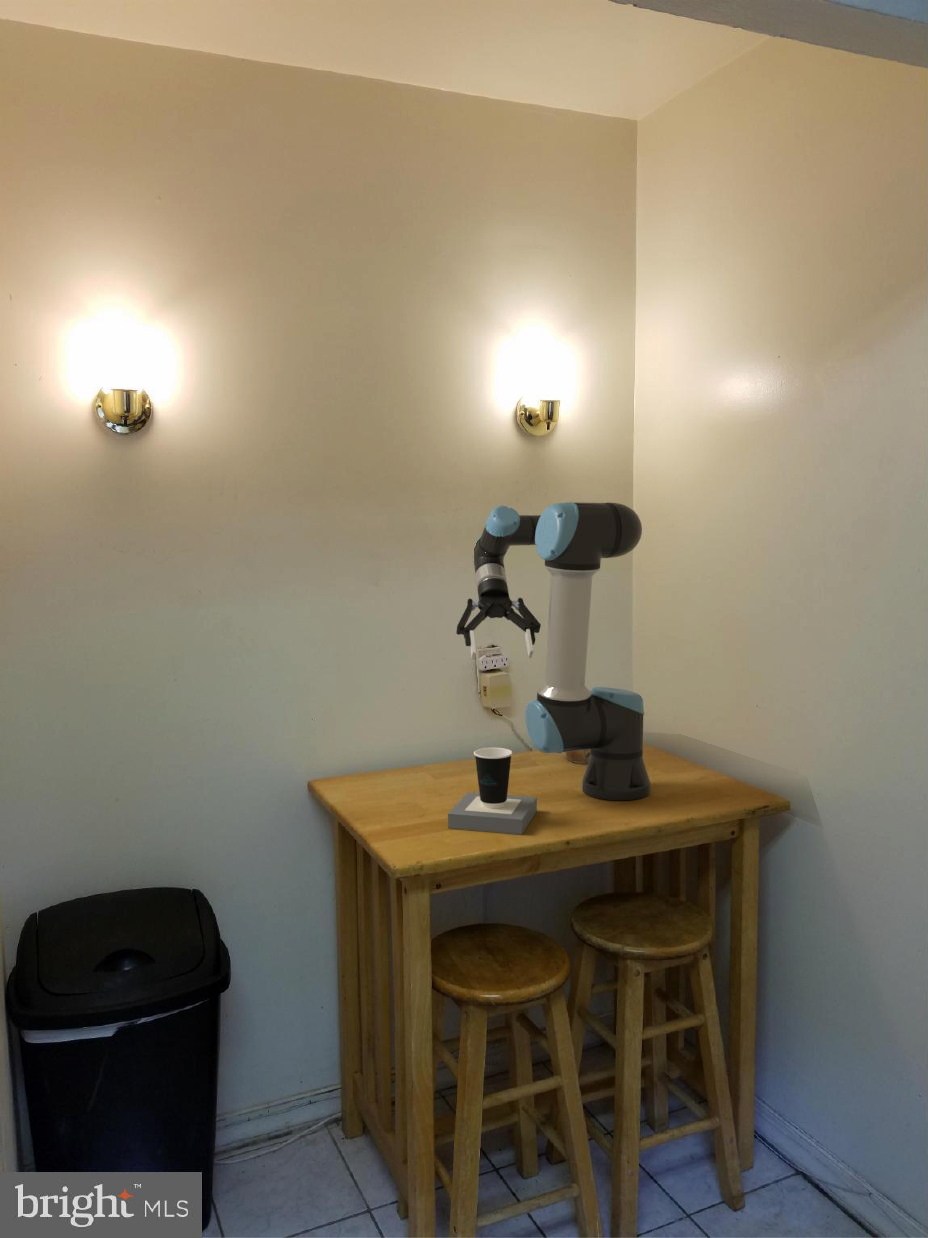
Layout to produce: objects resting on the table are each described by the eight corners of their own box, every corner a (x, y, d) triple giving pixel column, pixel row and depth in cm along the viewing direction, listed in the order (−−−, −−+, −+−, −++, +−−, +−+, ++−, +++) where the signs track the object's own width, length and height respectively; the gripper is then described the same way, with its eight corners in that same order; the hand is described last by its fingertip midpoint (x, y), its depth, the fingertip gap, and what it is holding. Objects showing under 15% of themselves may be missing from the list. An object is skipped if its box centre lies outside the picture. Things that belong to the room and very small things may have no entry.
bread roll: (577, 779, 230) (586, 754, 226) (553, 754, 237) (562, 729, 234) (607, 773, 236) (616, 748, 232) (583, 749, 243) (592, 724, 239)
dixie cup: (507, 797, 193) (507, 746, 192) (517, 809, 186) (517, 755, 185) (470, 800, 192) (469, 748, 191) (479, 812, 184) (478, 758, 183)
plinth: (536, 811, 194) (536, 796, 194) (521, 834, 180) (521, 819, 179) (468, 805, 198) (467, 791, 198) (447, 828, 184) (447, 813, 183)
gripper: (539, 595, 234) (552, 663, 221) (441, 596, 231) (448, 665, 218) (543, 575, 228) (557, 644, 215) (443, 577, 225) (450, 646, 212)
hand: (502, 655), depth 216 cm, fingers open, 13 cm apart
